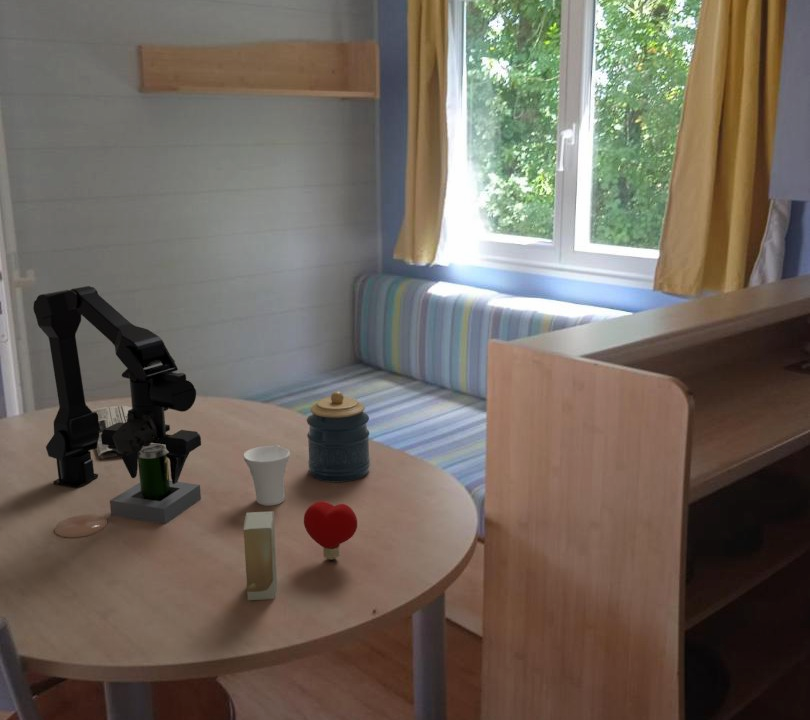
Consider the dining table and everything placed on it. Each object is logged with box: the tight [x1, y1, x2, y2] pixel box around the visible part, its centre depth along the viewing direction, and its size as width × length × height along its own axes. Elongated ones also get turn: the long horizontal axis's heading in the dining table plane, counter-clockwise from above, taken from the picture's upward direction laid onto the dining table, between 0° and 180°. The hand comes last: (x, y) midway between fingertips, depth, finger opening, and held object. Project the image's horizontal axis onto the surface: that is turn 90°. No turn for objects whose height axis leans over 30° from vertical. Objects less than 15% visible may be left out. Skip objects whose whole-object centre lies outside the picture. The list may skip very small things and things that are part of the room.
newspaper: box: [90, 405, 132, 460], centre depth 213 cm, size 35×12×4 cm, turn 24°
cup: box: [242, 444, 291, 507], centre depth 173 cm, size 9×9×10 cm
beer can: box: [138, 443, 170, 501], centre depth 170 cm, size 5×5×12 cm
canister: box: [306, 390, 371, 483], centre depth 186 cm, size 13×13×18 cm
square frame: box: [109, 480, 202, 525], centre depth 171 cm, size 12×12×3 cm
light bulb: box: [303, 500, 358, 561], centre depth 149 cm, size 9×7×10 cm
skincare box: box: [243, 510, 278, 601], centre depth 138 cm, size 6×4×12 cm
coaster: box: [54, 514, 108, 539], centre depth 163 cm, size 9×9×1 cm
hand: (154, 480), depth 170 cm, fingers open, 9 cm apart
